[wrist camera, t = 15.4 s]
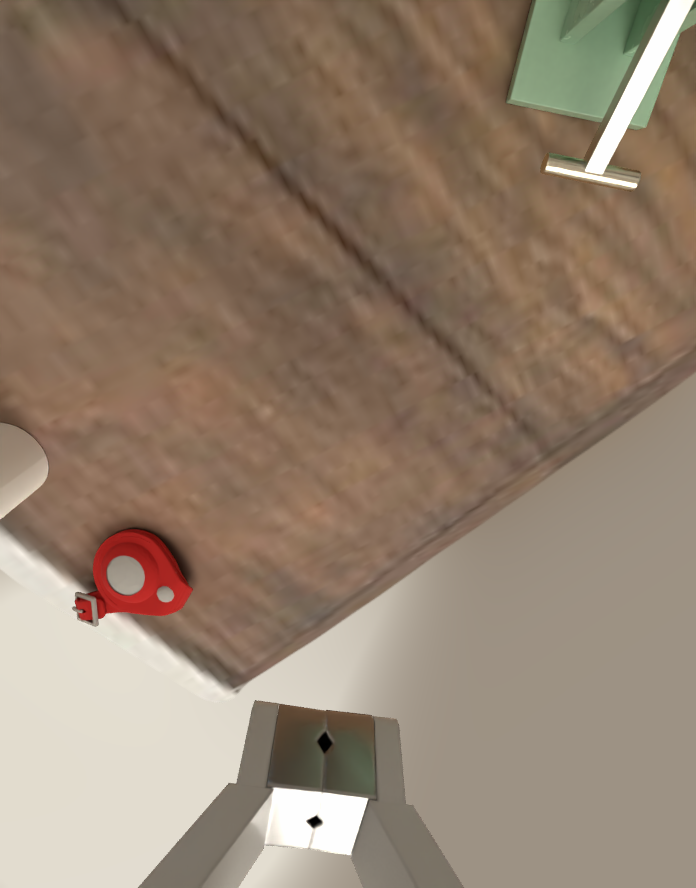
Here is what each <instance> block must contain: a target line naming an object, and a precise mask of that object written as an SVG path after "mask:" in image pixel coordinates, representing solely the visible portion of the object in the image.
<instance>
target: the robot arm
mask: <svg viewBox="0 0 696 888" xmlns="http://www.w3.org/2000/svg"><path fill="white" fill-rule="evenodd" d="M278 706H279V709H278ZM277 714H278V715H277ZM276 720H277V721H276ZM403 778H404V777H403V766H402V754H401V743H400V730H399V724H398V721H397V720H396V719H394V718H385V717H374V716H372V715H366V714H357V713H349V712H338V711H331V710H326V711H324V710H316V709H310V708H304V707H297V706H290V705H284V704H278V703H271V702H263V701H256V700H255V702H254V705H253V708H252V711H251V717H250V721H249V726H248V731H247V735H246V740H245V745H244V750H243V755H242V760H241V764H240V769H239V774H238V779H237V783H236V784H233V783H229V784H228V785H227V786H226V787H225V788H224V789H223V790H222V792H221V793H220V794H219V795H218V796H217V797H216V799H215V800H214V801H213V802H212V803H211V804H210V805H209V807H208V808H207V809H206V810H205V811H204V812H203V813H202V815H201V816H200V817H199V818H198V819H197V820H196V822H195V823H194V824H193V825H192V826H191V827H190V828H189V830H188V831H187V832H186V833H185V834H184V835H183V837H182V838H181V839H180V840H179V841H178V842H177V843H176V845H175V846H174V847H173V848H172V849H171V850H170V852H169V853H168V854H167V855H166V856H165V857H164V858H163V860H162V861H161V862H160V863H159V864H158V865H157V866H156V868H155V869H154V870H153V871H152V872H151V873H150V874H149V876H148V877H147V878H146V879H145V880H144V882H143V883H142V884H141V885H140V886H139V887H138V888H238V887H239V886H240V884H241V882H242V881H243V880H244V878H245V876H246V875H247V873H248V872H249V870H250V869H251V867H252V866H253V864H254V863H255V861H256V860H257V858H258V856H259V855H260V854H261V852H262V851H263V849H264V845H267V846H279V847H292V848H303V849H312V850H319V851H326V852H333V853H340V854H346V855H352V856H351V859H352V862H353V864H354V866H355V869H356V871H357V874H358V876H359V879H360V881H361V883H362V886H363V888H464V887H463V885H462V884H461V882H460V880H459V879H458V877H457V876H456V874H455V872H454V871H453V869H452V867H451V866H450V864H449V863H448V861H447V859H446V858H445V856H444V855H443V853H442V851H441V850H440V848H439V847H438V845H437V843H436V842H435V840H434V838H433V837H432V835H431V834H430V832H429V830H428V829H427V827H426V825H425V824H424V822H423V821H422V819H421V817H420V816H419V814H418V813H417V811H416V809H415V808H414V806H412V805H407V804H406V801H405V789H404V779H403Z"/></svg>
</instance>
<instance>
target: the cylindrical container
mask: <svg viewBox="0 0 696 888" xmlns="http://www.w3.org/2000/svg"><path fill="white" fill-rule="evenodd" d="M48 470H49V467H48V460H47V457H46V454H45V452H44V450H43V449H42V447H41V446H40V444H39V443H38V442H37V441H36V440H35V439H34V438H33V437H32V436H31V435H29V434H28V433H27V432H25V431H24V430H22V429H20V428H18V427H16V426H13V425H10V424H6V423H0V519H1V518H3V517H4V516H5V515H6V514H7V513H9V512H10V511H11V510H12V509H14V508H15V507H16V506H17V505H18V504H20V503H21V502H22V501H23V500H25V499H26V498H27V497H28V496H29V495H31V494H32V493H33V492H34V491H36V490H37V489H38V488H39V487H40V486H42V484H43V483H44V482H45V480H46V478H47V476H48Z"/></svg>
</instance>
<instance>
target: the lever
mask: <svg viewBox="0 0 696 888" xmlns="http://www.w3.org/2000/svg"><path fill="white" fill-rule="evenodd" d="M694 1H695V0H661V1H660V3H659V5H658V7H657V9H656V11H655V14H654V16H653V18H652V20H651V22H650V24H649V26H648V28H647V30H646V32H645V34H644V36H643V38H642V40H641V42H640V44H639V46H638V48H637V50H636V52H635V54H634V56H633V59H632V61H631V63H630V65H629V67H628V69H627V71H626V73H625V75H624V77H623V79H622V81H621V83H620V85H619V87H618V89H617V91H616V93H615V95H614V97H613V99H612V102H611V104H610V106H609V108H608V110H607V112H606V114H605V116H604V118H603V120H602V122H601V124H600V126H599V128H598V130H597V132H596V134H595V136H594V138H593V140H592V142H591V144H590V147H589V149H588V151H587V153H586V155H585V157H584V159H578V158H573V157H569V156H564V155H559V154H554V153H547V154H546V155H545V157H544V159H543V161H542V165H541V170H540V172H541V174H545V175H550V176H555V177H560V178H565V179H569V180H574V181H579V182H584V183H589V184H594V185H599V186H604V187H609V188H614V189H619V190H624V191H629V192H631V191H633V190H635V188H636V187H637V185H638V183H639V181H640V178H641V172H640V171H637V170H632V169H627V168H623V167H618V166H613V165H608V163H609V161H610V160H611V158H612V156H613V154H614V152H615V150H616V148H617V146H618V144H619V143H620V141H621V139H622V137H623V135H624V133H625V131H626V129H627V127H628V126H629V124H630V122H631V120H632V118H633V116H634V114H635V112H636V111H637V109H638V107H639V105H640V103H641V101H642V99H643V97H644V95H645V94H646V92H647V90H648V88H649V86H650V84H651V82H652V80H653V78H654V77H655V75H656V73H657V71H658V69H659V67H660V65H661V63H662V62H663V60H664V58H665V56H666V54H667V52H668V50H669V48H670V46H671V45H672V43H673V41H674V39H675V37H676V35H677V33H678V31H679V29H680V28H681V26H682V24H683V22H684V20H685V18H686V16H687V14H688V12H689V11H690V9H691V7H692V5H693V3H694Z"/></svg>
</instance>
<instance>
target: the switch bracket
mask: <svg viewBox="0 0 696 888" xmlns="http://www.w3.org/2000/svg"><path fill="white" fill-rule="evenodd" d="M660 1H661V0H532V3H531V7H530V11H529V15H528V19H527V23H526V27H525V30H524V34H523V38H522V42H521V46H520V50H519V53H518V57H517V61H516V65H515V69H514V73H513V77H512V80H511V84H510V88H509V92H508V96H507V100H506V103H509V104H514V105H518V106H523V107H528V108H533V109H538V110H543V111H547V112H552V113H557V114H562V115H567V116H572V117H577V118H581V119H586V120H591V121H596V122H602V120H603V118H604V116H605V114H606V112H607V110H608V108H609V106H610V104H611V102H612V99H613V97H614V95H615V93H616V91H617V89H618V87H619V85H620V83H621V81H622V79H623V77H624V75H625V73H626V71H627V69H628V67H629V65H630V63H631V61H632V59H633V56H634V54H635V52H636V50H637V48H638V46H639V44H640V42H641V40H642V38H643V36H644V34H645V32H646V30H647V28H648V26H649V24H650V22H651V20H652V18H653V16H654V14H655V11H656V9H657V7H658V5H659V3H660ZM694 24H696V0H695V1H694V3H693V5H692V7H691V9H690V11H689V12H688V14H687V16H686V18H685V20H684V22H683V24H682V26H681V28H680V29H679V31H678V33H677V35H676V37H675V39H674V41H673V43H672V45H671V46H670V48H669V50H668V52H667V54H666V56H665V58H664V60H663V62H662V63H661V65H660V67H659V69H658V71H657V73H656V75H655V77H654V78H653V80H652V82H651V84H650V86H649V88H648V90H647V92H646V94H645V95H644V97H643V99H642V101H641V103H640V105H639V107H638V109H637V111H636V112H635V114H634V116H633V118H632V120H631V122H630V124H629V126H628V127H627V128H630V129H635V130H639V129H642V128H645V127H646V126H647V123H648V121H649V118H650V115H651V112H652V110H653V107H654V104H655V101H656V99H657V96H658V93H659V91H660V88H661V85H662V82H663V80H664V77H665V74H666V71H667V69H668V66H669V63H670V60H671V58H672V55H673V52H674V49H675V47H676V44H677V41H678V38H679V36H680V33H681V32H682V31H684V30H686V29H688V28H689V27H691V26H693V25H694Z"/></svg>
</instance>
